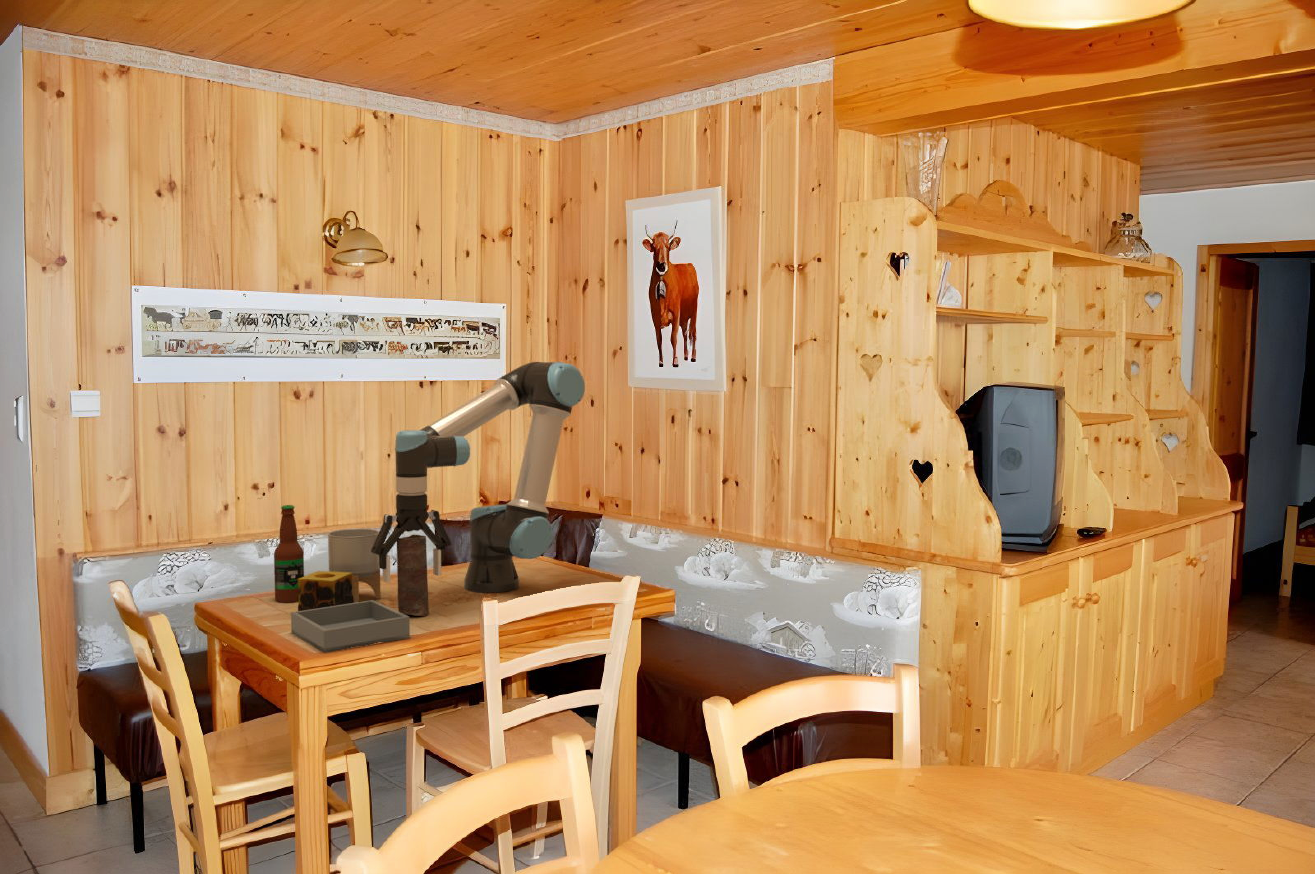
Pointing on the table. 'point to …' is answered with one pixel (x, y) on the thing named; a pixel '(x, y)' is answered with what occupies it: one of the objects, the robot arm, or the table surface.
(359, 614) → the bin
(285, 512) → the bottle
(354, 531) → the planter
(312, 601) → the candle
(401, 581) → the candle
